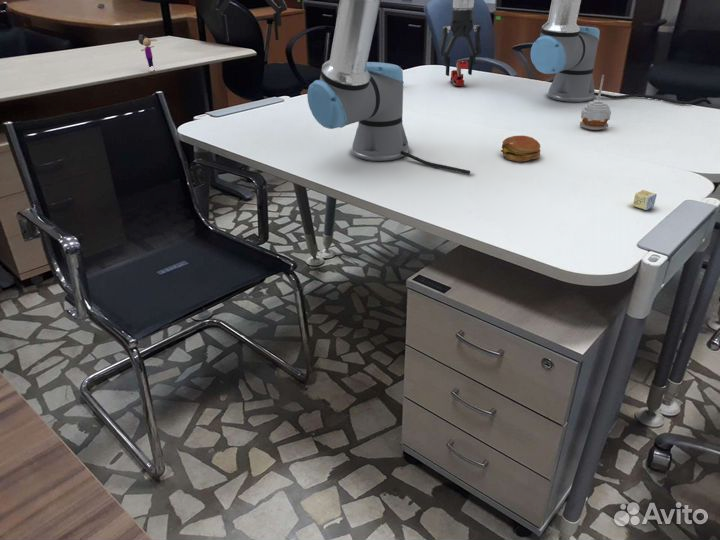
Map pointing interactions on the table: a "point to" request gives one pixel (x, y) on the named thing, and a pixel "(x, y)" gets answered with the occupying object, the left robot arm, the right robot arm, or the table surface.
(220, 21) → the left robot arm
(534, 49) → the right robot arm
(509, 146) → the burger
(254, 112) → the table surface
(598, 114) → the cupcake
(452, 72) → the toy fire truck
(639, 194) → the alphabet block
